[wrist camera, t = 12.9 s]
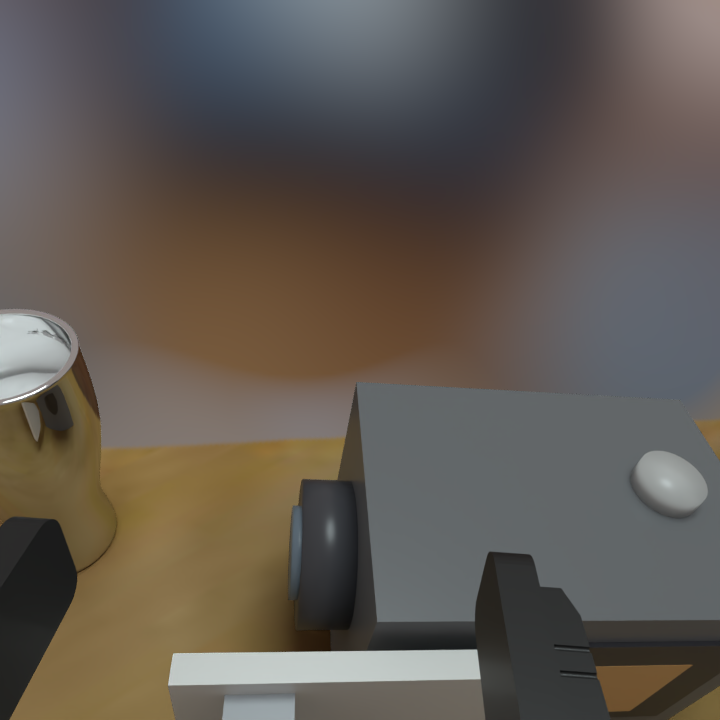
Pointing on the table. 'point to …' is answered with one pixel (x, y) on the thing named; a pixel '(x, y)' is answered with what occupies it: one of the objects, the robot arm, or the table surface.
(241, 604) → the table surface
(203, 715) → the side door
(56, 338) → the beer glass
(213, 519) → the table surface
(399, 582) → the box
